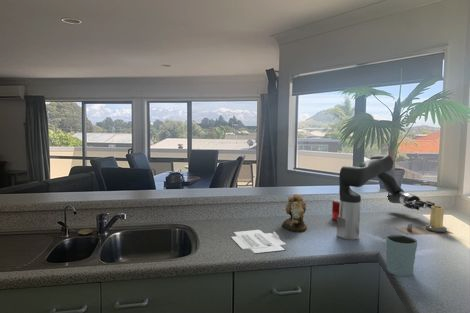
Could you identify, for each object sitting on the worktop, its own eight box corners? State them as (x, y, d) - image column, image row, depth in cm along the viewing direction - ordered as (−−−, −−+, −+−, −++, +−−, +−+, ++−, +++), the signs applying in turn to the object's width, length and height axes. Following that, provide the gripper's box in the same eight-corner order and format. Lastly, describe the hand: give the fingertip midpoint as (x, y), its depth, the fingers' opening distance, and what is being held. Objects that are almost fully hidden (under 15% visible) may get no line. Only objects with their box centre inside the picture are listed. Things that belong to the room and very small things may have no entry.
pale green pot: (384, 274, 120) (386, 241, 119) (383, 263, 130) (385, 232, 128) (417, 279, 117) (419, 245, 115) (413, 267, 126) (415, 236, 125)
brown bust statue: (278, 222, 183) (278, 190, 181) (299, 221, 184) (300, 190, 183) (288, 232, 165) (289, 198, 163) (311, 232, 167) (312, 197, 165)
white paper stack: (247, 256, 137) (247, 247, 136) (226, 236, 163) (226, 229, 163) (292, 251, 143) (293, 242, 143) (265, 233, 170) (265, 225, 169)
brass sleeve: (437, 229, 164) (438, 208, 163) (427, 226, 169) (428, 206, 168) (444, 228, 166) (446, 207, 165) (434, 225, 171) (436, 205, 170)
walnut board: (406, 237, 160) (407, 227, 159) (393, 230, 171) (393, 220, 170) (453, 236, 163) (454, 226, 162) (437, 229, 174) (437, 219, 173)
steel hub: (437, 233, 162) (438, 221, 161) (421, 228, 170) (421, 216, 169) (450, 231, 165) (451, 219, 164) (433, 226, 173) (434, 215, 173)
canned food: (341, 222, 184) (342, 202, 183) (329, 219, 190) (329, 199, 189) (349, 220, 189) (350, 200, 188) (336, 216, 195) (337, 198, 194)
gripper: (397, 194, 191) (413, 200, 175) (422, 194, 191) (440, 200, 175) (396, 207, 191) (412, 215, 175) (421, 207, 192) (440, 215, 176)
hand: (426, 208), depth 175 cm, fingers open, 8 cm apart
